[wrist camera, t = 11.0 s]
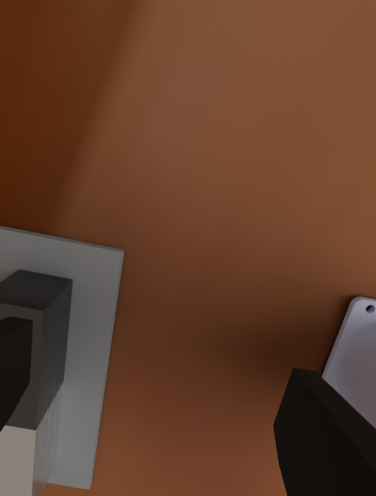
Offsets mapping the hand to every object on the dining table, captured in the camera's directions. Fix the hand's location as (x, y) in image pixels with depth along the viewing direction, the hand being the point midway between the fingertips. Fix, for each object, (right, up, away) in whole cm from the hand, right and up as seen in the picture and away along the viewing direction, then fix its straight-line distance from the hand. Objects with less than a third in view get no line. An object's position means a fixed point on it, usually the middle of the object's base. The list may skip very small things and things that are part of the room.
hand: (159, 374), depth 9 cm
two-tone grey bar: (-8, -4, +11) cm, 15 cm away
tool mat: (-8, -4, +11) cm, 15 cm away
